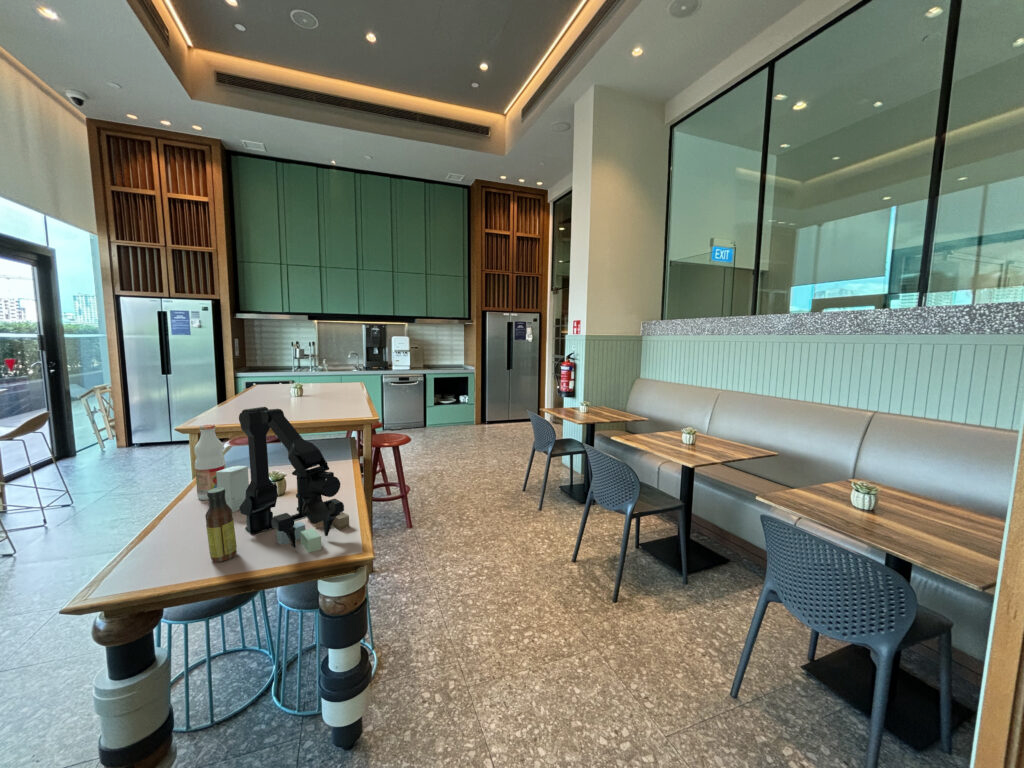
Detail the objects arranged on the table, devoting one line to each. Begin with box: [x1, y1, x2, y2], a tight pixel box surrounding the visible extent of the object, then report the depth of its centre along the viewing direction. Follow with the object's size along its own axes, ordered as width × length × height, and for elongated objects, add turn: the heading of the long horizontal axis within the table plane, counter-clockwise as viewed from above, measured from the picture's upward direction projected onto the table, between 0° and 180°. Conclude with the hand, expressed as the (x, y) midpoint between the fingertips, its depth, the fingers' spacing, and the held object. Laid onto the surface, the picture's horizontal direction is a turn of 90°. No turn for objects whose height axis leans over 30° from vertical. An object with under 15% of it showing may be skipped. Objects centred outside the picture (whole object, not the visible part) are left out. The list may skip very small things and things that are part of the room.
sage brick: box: [300, 527, 322, 553], centre depth 121 cm, size 7×4×4 cm, turn 43°
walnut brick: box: [331, 511, 350, 531], centre depth 135 cm, size 7×4×4 cm, turn 51°
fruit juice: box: [193, 424, 226, 501], centre depth 158 cm, size 9×9×28 cm
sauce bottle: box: [204, 488, 238, 563], centre depth 114 cm, size 7×6×20 cm
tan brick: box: [307, 518, 324, 529], centre depth 136 cm, size 7×4×4 cm, turn 46°
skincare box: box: [216, 465, 250, 514], centre depth 148 cm, size 8×6×15 cm
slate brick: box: [275, 521, 306, 546], centre depth 125 cm, size 7×4×4 cm, turn 141°
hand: (310, 541), depth 121 cm, fingers open, 9 cm apart
